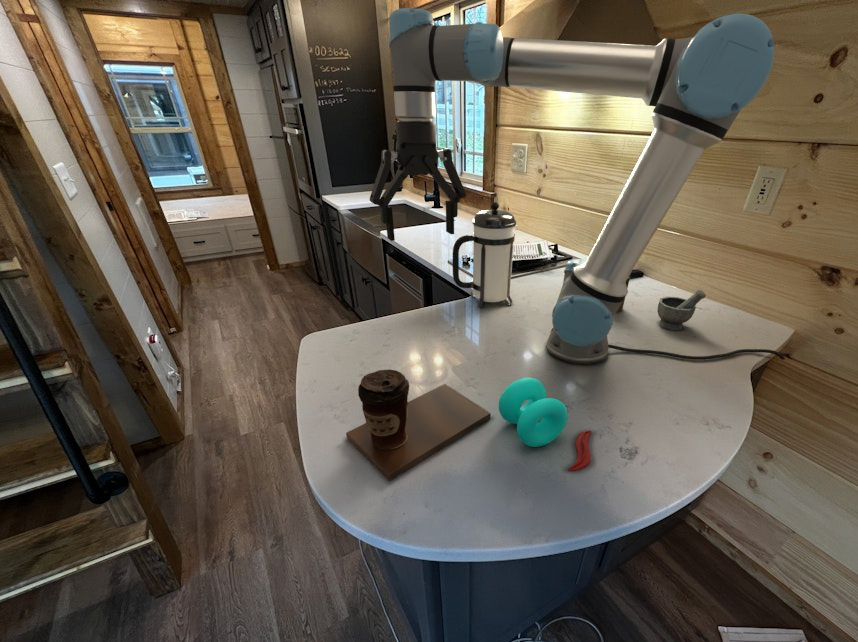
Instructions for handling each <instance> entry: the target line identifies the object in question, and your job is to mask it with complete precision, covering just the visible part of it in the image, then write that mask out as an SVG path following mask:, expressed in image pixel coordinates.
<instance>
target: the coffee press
mask: <svg viewBox="0 0 858 642" xmlns="http://www.w3.org/2000/svg"><path fill="white" fill-rule="evenodd" d="M490 207H491V209H486V210H485V209H484V210H481V211H479V212H478V213H476V214H475V216H474V218H473V219H472V225H473V233H472V235H468V234H466V235H462V236H460V237H458V238H457V239H456V240H455V242H454V244H453V247H452V278H453V281H454V283H455V285H456V286H457V287H459V288H462V289H472V291H471V292H470V297H471V298H472V297H474V298H475V299H477V300H478V303H477V307H478V308H480V309H483V308H484V306H485V305H486V303H499V302H504V303H505V305H506V306H511V305H512V304H513V299H512V298H511V286H512V285H511V284H512V269H513V254H514V243H515V239H516V233H515V231H519V230H520V227H519V225H517V220H516V219H515V218H516V217H515V216H514V215H513V213H511V212H509V211H507V210H504V209H499V207H500V204H499V202H498V201H493V202H492V203H491V205H490ZM468 242H473V248H472V249H473V254H472V256H473V257H472V280H471V281H468V282H467V281H466V282H465V281H462V280H460V279H461V278H460V249H461V246H462V245H463V244H465V243H468Z"/></svg>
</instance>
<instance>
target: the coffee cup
mask: <svg viewBox="0 0 858 642" xmlns="http://www.w3.org/2000/svg"><path fill="white" fill-rule="evenodd" d="M357 390H358V391H357V392H358V393H357V395H358V397H359V401H360V402H361V403H362V405H361V406H362V408H361V409H362V413H363V416H364V420H365V423H366V425H367V428H368V430H369V431H370V432H371V439H372V443H373V445H374V446H376V447H378V448H380V449H393V448H398V447H399V446H401V445H403V444H405V442H406V440H407V437H408V436H407V433H406V431H405V426H406V420H407V418H408V402H409V401H408V400H409V399H408V398H409V397H408V395H409V391H410V382H409V380H408V379H407V378H406V376H405V374H403V373H402V372H400V371H398V370H397V369H379V370H376V371H373V372H369V373H367V374H365V375H363V376H362V378H361V380H360V384H359V385H358V388H357Z"/></svg>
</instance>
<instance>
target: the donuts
mask: <svg viewBox="0 0 858 642" xmlns="http://www.w3.org/2000/svg"><path fill="white" fill-rule="evenodd" d="M525 402H526V403H525ZM524 403H525V404H524ZM523 404H524V405H523ZM498 412H499V414H500V416H501V418H502V419H503V420H504V421H506V422H508V423H509V424H513V425H516V434H517V437H518V439H519V440H520V442H521V443H523V445H526V446H527V447H530V448H531V447H533V448H537V447H543V446H546V445H548V444H550V443H552V442H553V441H554V440H556V439H557V438H558V437H559V436H560V435H561V434H562V432H563V431H564V430H565V428H566V425H567V424H568V423H567V422H568V418H569V414H568V408H567V407H566V405H565V404H564V403H563V402H562V401H561V400H560V399H557V398H554V397H547V390H546V387H545V385H544V384H543V383H542V381H540V380H539V379H538V378H534V377H522V378H518V379H517V380H514V381H513V382H511V383H510V384H509V385H508V386H507V387H506V388H505V389H504V390H503V392H502V393H501V395H500V398H499V401H498Z"/></svg>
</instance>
